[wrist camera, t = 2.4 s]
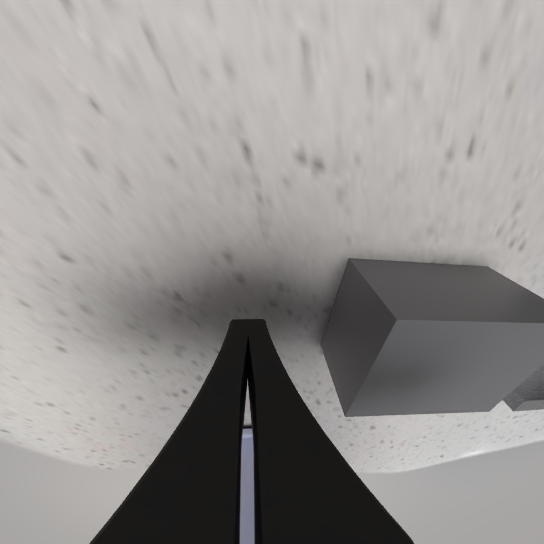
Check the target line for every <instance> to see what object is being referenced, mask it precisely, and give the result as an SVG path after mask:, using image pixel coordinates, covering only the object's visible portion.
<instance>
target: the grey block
mask: <svg viewBox="0 0 544 544" xmlns="http://www.w3.org/2000/svg"><path fill="white" fill-rule="evenodd" d="M321 347H322V350H323V353H324V356H325V359H326V362H327V365H328V368H329V371H330V374H331V377H332V380H333V383H334V386H335V389H336V392H337V395H338V398H339V401H340V404H341V406H342V409H343V412H344V415H345V417H354V416H381V415H408V414H435V413H463V412H489V411H490V410H491V409H492V408H494V407H495V406H496V405H497V404H498V403H499V402H500V401H502V400H503V399H504V398H505V397H506V396H507V395H508V394H510V393H511V392H512V391H513V390H514V389H515V388H516V387H518V386H519V385H520V384H521V383H522V382H523V381H524V380H525V379H527V378H528V377H529V376H530V375H531V374H532V373H533V372H535V371H536V370H537V369H538V368H539V367H540V366H541V365H543V364H544V299H543V298H541V297H540V296H538V295H536V294H534V293H533V292H531V291H529V290H527V289H526V288H524V287H522V286H520V285H519V284H517V283H515V282H513V281H512V280H510V279H508V278H506V277H505V276H503V275H501V274H499V273H498V272H496V271H494V270H492V269H491V268H489V267H484V266H467V265H451V264H435V263H418V262H402V261H385V260H369V259H353V258H349V259H348V262H347V266H346V269H345V272H344V275H343V278H342V281H341V284H340V287H339V290H338V293H337V296H336V299H335V302H334V305H333V309H332V312H331V315H330V318H329V321H328V324H327V327H326V330H325V333H324V336H323V339H322V342H321Z"/></svg>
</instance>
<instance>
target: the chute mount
mask: <svg viewBox="0 0 544 544" xmlns="http://www.w3.org/2000/svg"><path fill="white" fill-rule="evenodd" d="M503 401H504V402H505V403H506V404H507V405H508V406H509V407H510V408H511V409H512V410H513V411H524V410H539V409H544V364H543V365H541V366H540V367H539V368H538V369H537V370H536V371H535V372H533V373H532V374H531V375H530V376H529V377H528V378H527V379H525V380H524V381H523V382H522V383H521V384H520V385H519V386H518V387H516V388H515V389H514V390H513V391H512V392H511V393H510V394H508V395H507V396H506V397H505V398H504V399H503Z"/></svg>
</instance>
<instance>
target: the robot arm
mask: <svg viewBox="0 0 544 544" xmlns="http://www.w3.org/2000/svg"><path fill="white" fill-rule="evenodd" d="M247 379H248V387H249V399H250V411H251V422H252V428H251V429H243V423H244V412H245V401H246V390H247ZM90 544H414V543H413V541H412V540H411V538H410V537H409V536H408V534H407V533H406V532H405V531H404V530H403V529H402V528H401V526H400V525H399V524H398V523H397V522H396V521H395V520H394V518H392V516H391V515H390V514H389V513H388V512H387V510H386V509H385V508H384V507H383V506H382V505H381V504H380V502H379V501H378V500H377V499H376V497H375V496H374V495H373V494H372V493H371V492H370V490H369V489H368V488H367V487H366V486H365V484H364V483H363V482H362V481H361V479H360V478H359V477H358V476H357V474H356V473H355V472H354V471H353V469H352V468H351V467H350V466H349V464H348V463H347V462H346V460H345V459H344V458H343V456H342V455H341V454H340V452H339V451H338V450H337V448H336V447H335V446H334V444H333V443H332V442H331V441H330V439H329V438H328V437H327V435H326V434H325V432H324V431H323V430H322V428H321V427H320V425H319V424H318V422H317V421H316V419H315V418H314V417H313V415H312V414H311V412H310V410H309V409H308V407H307V406H306V404H305V403H304V401H303V400H302V398H301V396H300V395H299V393H298V391H297V390H296V388H295V386H294V384H293V383H292V381H291V379H290V377H289V376H288V374H287V372H286V370H285V368H284V366H283V364H282V362H281V360H280V358H279V356H278V354H277V352H276V349H275V347H274V345H273V342H272V340H271V337H270V335H269V332H268V329H267V325H266V321H265V320H263V319H238V320H232V321H231V322H230V325H229V329H228V332H227V335H226V337H225V340H224V342H223V345H222V347H221V350H220V352H219V354H218V356H217V358H216V360H215V362H214V365H213V367H212V369H211V371H210V372H209V374H208V376H207V378H206V380H205V382H204V384H203V385H202V387H201V389H200V391H199V393H198V394H197V396H196V398H195V399H194V401H193V403H192V404H191V406H190V408H189V409H188V411H187V412H186V414H185V416H184V417H183V419H182V420H181V422H180V423H179V425H178V426H177V428H176V429H175V431H174V432H173V434H172V435H171V437H170V438H169V440H168V441H167V443H166V444H165V446H164V447H163V449H162V450H161V451H160V453H159V454H158V456H157V457H156V458H155V460H154V461H153V463H152V464H151V465H150V467H149V468H148V469H147V471H146V472H145V473H144V475H143V476H142V477H141V479H140V480H139V481H138V483H137V484H136V485H135V487H134V488H133V489H132V491H131V492H130V493H129V495H128V496H127V497H126V499H125V500H124V501H123V503H122V504H121V505H120V507H119V508H118V509H117V510H116V511H115V513H114V514H113V515H112V517H111V518H110V519H109V521H108V522H107V523H106V524H105V525H104V527H103V528H102V529H101V530H100V531H99V533H98V534H97V535H96V536H95V538H94V539H93V540H92V541H91V542H90Z"/></svg>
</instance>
